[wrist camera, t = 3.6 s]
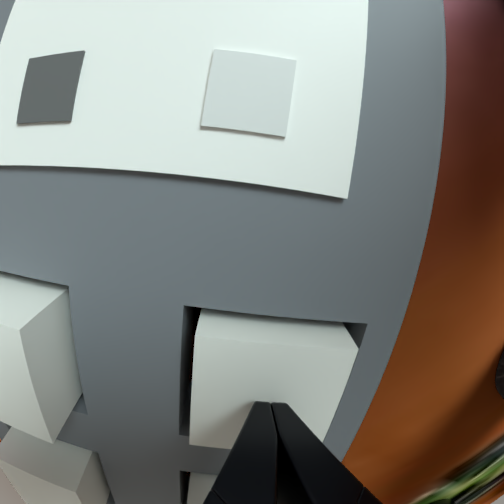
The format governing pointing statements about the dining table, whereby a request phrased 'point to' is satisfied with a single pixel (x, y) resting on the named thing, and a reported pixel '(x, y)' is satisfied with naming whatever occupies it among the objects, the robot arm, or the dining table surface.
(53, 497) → the button
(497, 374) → the travel mug
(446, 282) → the dining table surface
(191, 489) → the button
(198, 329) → the button
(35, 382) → the button
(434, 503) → the supplement bottle
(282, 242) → the button board
